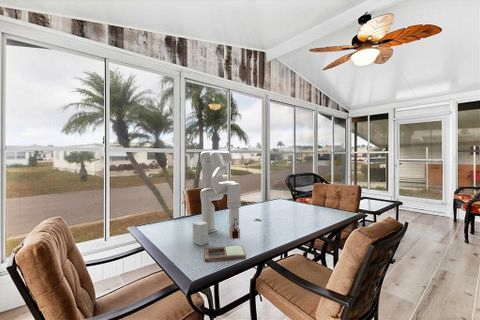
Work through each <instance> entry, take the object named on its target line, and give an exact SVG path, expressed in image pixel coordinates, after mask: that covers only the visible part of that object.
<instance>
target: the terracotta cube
mask: <svg viewBox="0 0 480 320" xmlns="http://www.w3.org/2000/svg"><path fill="white" fill-rule="evenodd" d="M228 229H229V230H228V231H229V233H228V234H229V240H240V239H241V228H240V225H239V226H238V238H234V239H233V238H232V231H233V226H230V225H229V228H228Z"/></svg>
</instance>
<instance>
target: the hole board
mask: <svg viewBox="0 0 480 320" xmlns="http://www.w3.org/2000/svg"><path fill="white" fill-rule="evenodd" d="M246 258H247V257H246V252H245V250H244V247H243V245H225V246H213V247H205V248H204V262H205V263H206V262H215V261H216V262H217V261H227V260H228V261H229V260H243V259H246Z"/></svg>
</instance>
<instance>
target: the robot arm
mask: <svg viewBox="0 0 480 320" xmlns="http://www.w3.org/2000/svg"><path fill="white" fill-rule="evenodd" d="M232 160H233V159H232V154H231V152H230V151H228V150H205V151H202V152H201V153H200V154H199V162H200V164H201V168H202V169H201V170H202V171H201V172H202V173H201V178H202V180H201V181H202V182H201V183H202V185H203V187H205V188H203V189H201V190H200V193H199V194H200V197H199V198H200V202H201V221H203V222H206V223H208V234H212V233H215V232H217V230H218V228H217V226H216V217H215V216H216V215H215V213H216V212H215V211H216V210H215V205H214V204H213V203H212V201H220V200H222V199H223V198H224V195H226V197H227V201H226V202H227V208H228V223H229V226H233V231H232V238H233V239H232V240H235V239H234V238H238V226H239V227H240V209H241V207H242V206H241V204H242V203H241V201H242V200H241V199H242V198H241V197H242V195H241V192H242V191H241V184H240V183H239V182H236V181H234V180H229V181H225V180H224V175H225V174H226V173H227V172H228V169H229V168H228V165H227V164H229V163H231V161H232Z"/></svg>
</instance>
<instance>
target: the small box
mask: <svg viewBox="0 0 480 320" xmlns="http://www.w3.org/2000/svg"><path fill="white" fill-rule="evenodd" d="M192 243H194V244H196V245H197V246H201V247H202V246H204V245H206V244H209V233H208V223H206V222H203V221H202V220H199V221H194V222H192Z"/></svg>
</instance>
